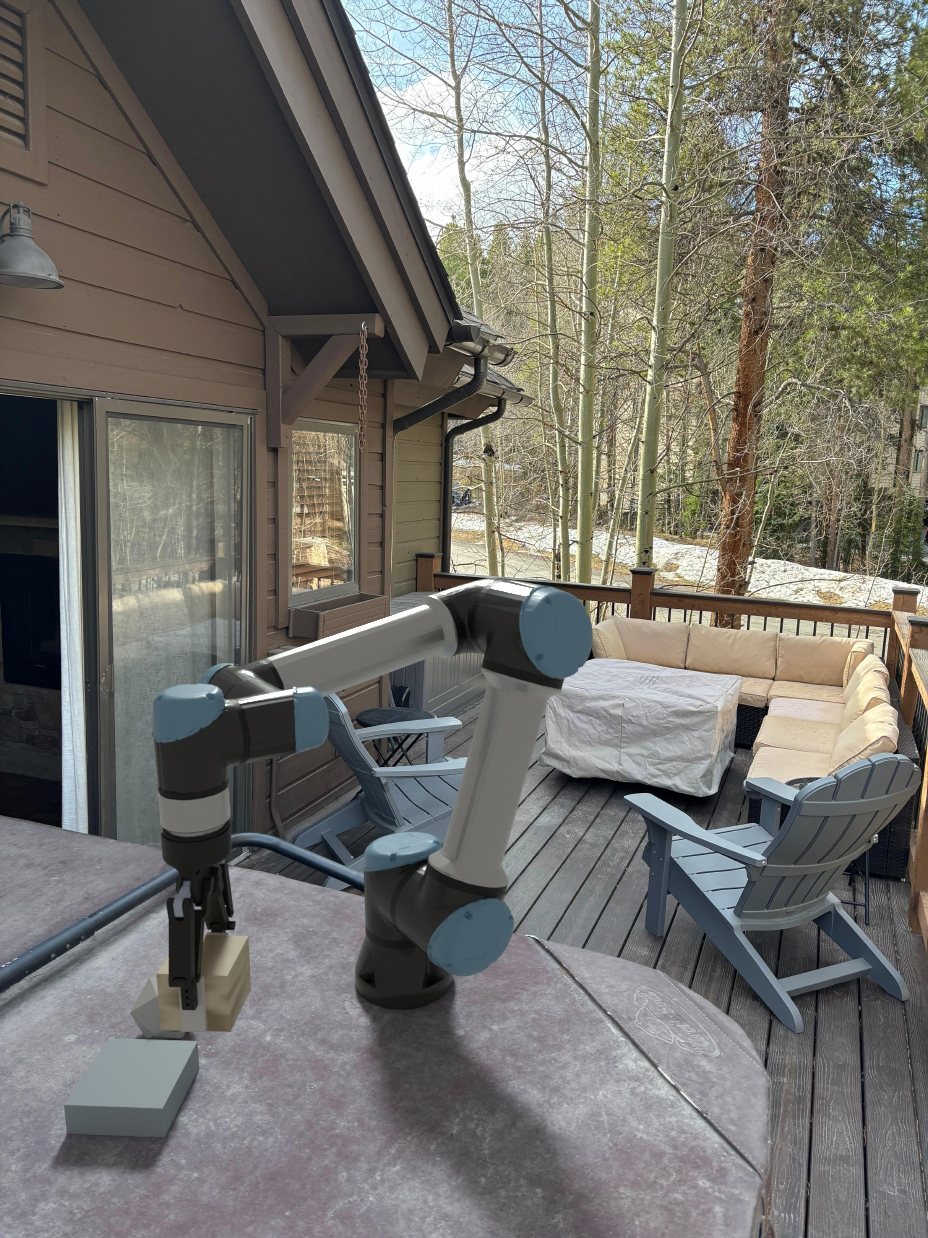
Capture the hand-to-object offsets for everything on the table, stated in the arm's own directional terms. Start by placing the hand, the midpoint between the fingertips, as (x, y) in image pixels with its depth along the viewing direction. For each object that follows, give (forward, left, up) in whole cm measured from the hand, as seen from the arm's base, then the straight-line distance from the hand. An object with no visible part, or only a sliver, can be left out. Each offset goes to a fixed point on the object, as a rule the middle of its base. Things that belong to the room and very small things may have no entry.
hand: (207, 1005), depth 102 cm
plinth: (+12, -5, -17) cm, 21 cm away
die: (+13, -18, -17) cm, 28 cm away
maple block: (0, 0, 0) cm, 0 cm away
